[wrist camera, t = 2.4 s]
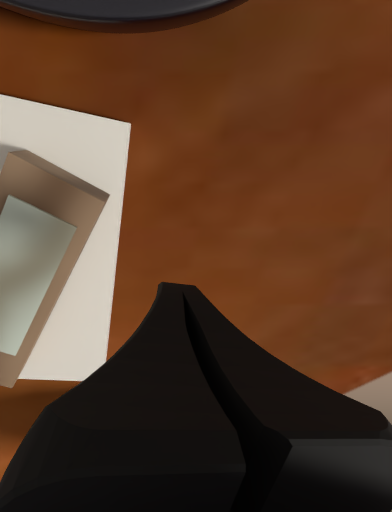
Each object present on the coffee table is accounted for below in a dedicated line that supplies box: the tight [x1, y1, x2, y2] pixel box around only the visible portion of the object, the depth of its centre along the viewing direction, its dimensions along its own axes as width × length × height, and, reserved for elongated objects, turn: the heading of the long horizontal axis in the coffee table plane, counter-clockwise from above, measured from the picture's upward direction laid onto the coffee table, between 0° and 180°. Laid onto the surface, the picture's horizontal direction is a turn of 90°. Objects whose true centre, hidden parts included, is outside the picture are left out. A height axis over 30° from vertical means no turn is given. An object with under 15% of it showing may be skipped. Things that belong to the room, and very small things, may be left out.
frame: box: [0, 150, 110, 388], centre depth 17 cm, size 5×15×3 cm, turn 148°
